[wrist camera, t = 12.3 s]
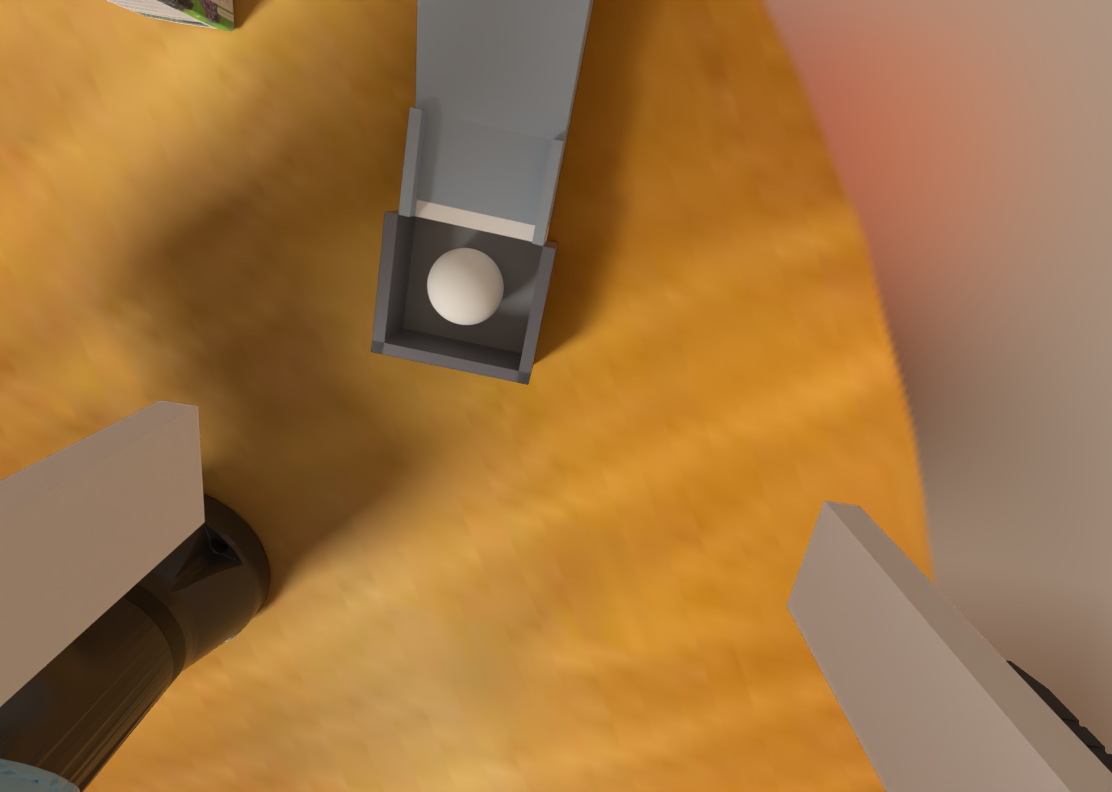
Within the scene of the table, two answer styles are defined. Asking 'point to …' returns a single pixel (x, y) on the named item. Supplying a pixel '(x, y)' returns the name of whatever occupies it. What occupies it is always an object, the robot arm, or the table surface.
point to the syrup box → (185, 11)
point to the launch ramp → (492, 112)
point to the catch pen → (430, 338)
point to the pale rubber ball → (465, 286)
